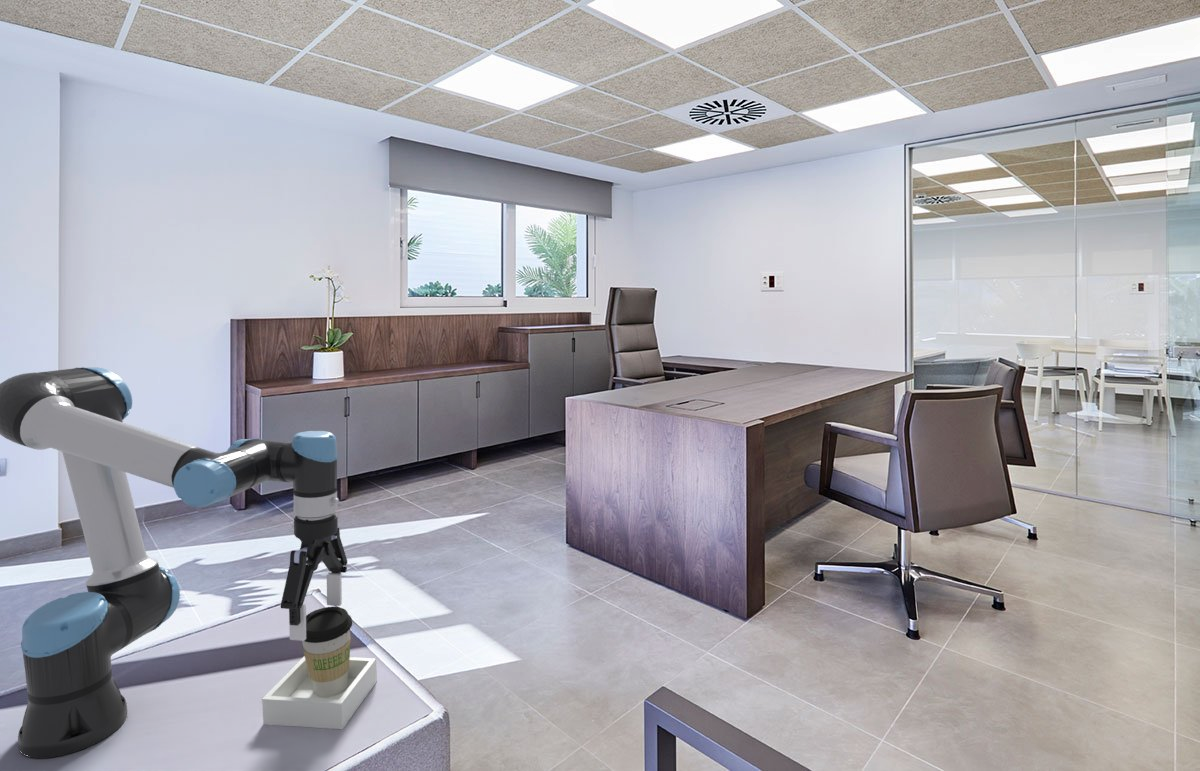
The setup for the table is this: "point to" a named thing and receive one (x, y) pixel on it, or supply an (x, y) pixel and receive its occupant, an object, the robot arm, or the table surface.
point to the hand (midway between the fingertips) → (317, 621)
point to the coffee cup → (328, 649)
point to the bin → (317, 697)
